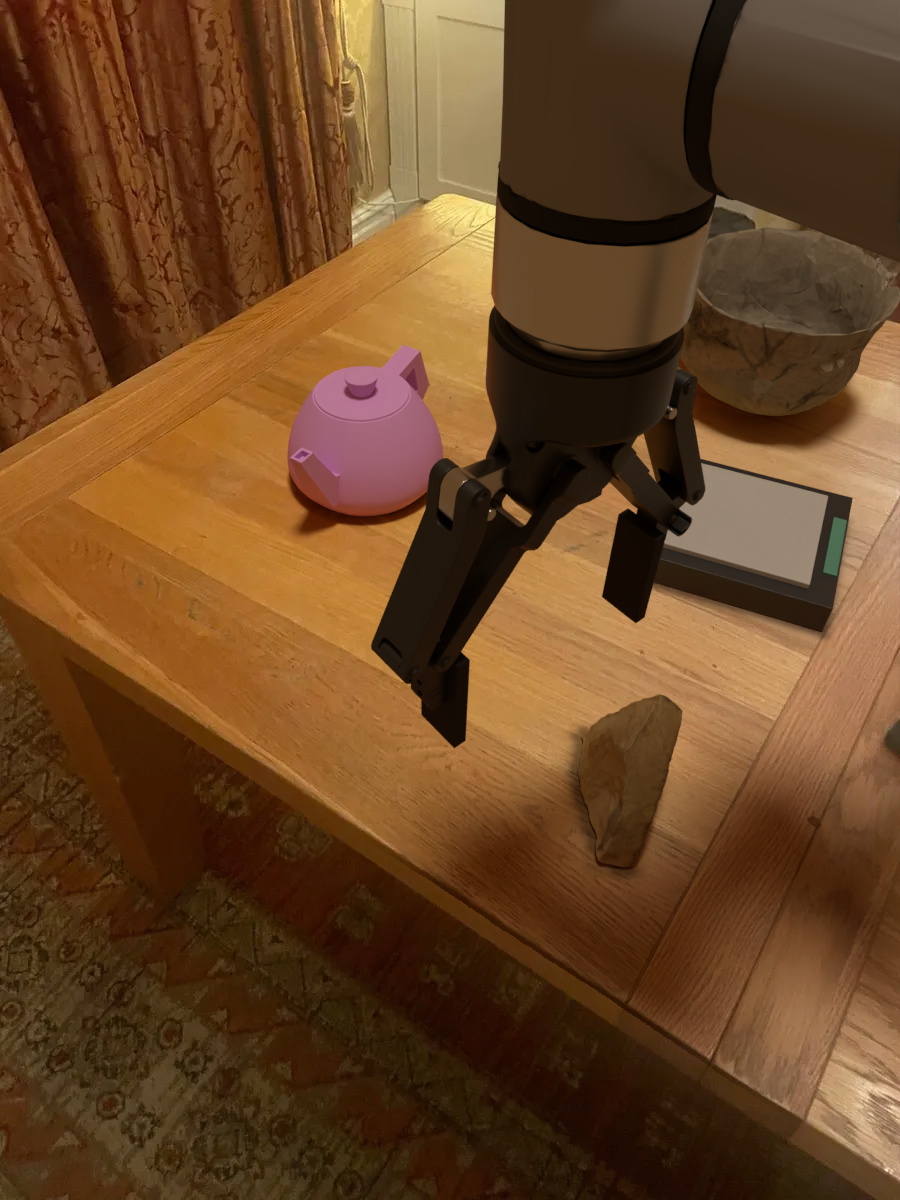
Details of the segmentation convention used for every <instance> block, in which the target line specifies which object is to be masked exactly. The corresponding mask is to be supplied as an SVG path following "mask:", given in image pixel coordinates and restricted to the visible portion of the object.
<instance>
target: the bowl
mask: <svg viewBox="0 0 900 1200" xmlns="http://www.w3.org/2000/svg"><path fill="white" fill-rule="evenodd" d="M886 280H887V270H886V269H884V268H883V267H879V262H878V261H876V260H875V258H873V257H872V256H870V255H869V254H868V253H865V251H864V250H862V249H861V248H859V247H857V246H855V245H853V244H850V243H847V242H845V241H842V240H840V239H837V238H834V237H832V236H829V235H826V234H824V233H821V232H819V231H814V230H813V231H812V230H798V229H787V228H780V227H779V228H778V227H769V226H767V227H761V228H750V229H743V230H737V231H733V232H726V233H720V234H718V235H715V236H714V237H711V238H708V240H707V244H706V249H705V254H704V258H703V263H702V268H701V272H700V277H699V282H698V286H697V291H696V296H695V300H694V305H693V310H692V312H691V314H690V317H689V319H688V322H687V323H686V324H685V325H684V326H683V328H684V342H683V346H682V351H681V355H680V359H681V360H682V362H683V364H684V366H685V368H686V371H687V372H689V373H691V374H692V375H694V376H696V377H697V379H698V383H697V385H699V386H700V387H701V388H702V389H703V390H704V391H705V392H707V394H709V395H710V396H711V397H713V398H715V399H716V400H718V401H720V402H723V403H724V404H726V405H729V406H731V407H734V408H736V409H738V410H741V411H744V412H746V413H749V414H755V415H761V416H768V417H769V416H770V417H780V416H781V417H782V416H791V415H792V416H793V415H796V414H800V413H803V412H807V411H810V410H812V409H814V408H817V407H819V406H821V405H823V404H825V403H826V402H828V401H830V400H831V399H833V398H834V397H836V396H837V395H838V394H840V392H842V391H843V390H844V389H845V388H846V387H847V386H848V384H849V382H850V381H851V380H852V378H853V377H854V375H855V374H856V373H857V371H858V369H859V366H860V362H861V359H862V354H863V352H864V350H865V349H866V347H867V346H868V344H869V343H870V342H871V340H872V339H873V337H874V335H875V334H876V333H878V332H879V330H880V329H881V328H882V327H883V326H884V324H885V323H886V322H887V321H888V319H889V318H890V317H891V316H892V314H893V313H894V312H895V311H896V309H897V307H898V305H899V303H900V287H899V286H897V285H896V286H891V287H888V286H886Z"/></svg>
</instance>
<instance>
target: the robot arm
mask: <svg viewBox="0 0 900 1200" xmlns="http://www.w3.org/2000/svg"><path fill="white" fill-rule="evenodd" d="M503 23H504V24H503V69H502V105H501V106H502V107H501V129H500V132H501V133H500V155H499V161H498V165H497V169H498V173H497V183H496V185H497V186H496V194H495V195H496V196H495V197H496V198H495V214H494V215H495V216H494V232H493V233H494V235H493V251H492V252H493V253H492V268H491V269H492V271H491V284H490V286H491V287H490V288H491V289H490V295H491V298H492V301H493V304H494V305H493V307H492V308H491V310H490V313H489V315H488V316H489V317H488V328H487V329H488V330H487V349H486V365H485V367H486V369H485V390H486V395H487V398H488V402H489V404H490V407H491V411H492V414H493V417H494V418H493V419H494V422H495V432H494V435H493V438H492V440H491V442H490V445H489V447H488V449H487V451H486V454H485V458H483V459H481V460H479V461H476V462H473V463H471V464H469V465H465V466H462V467H461V466H459V464H457V463H456V462H454V461H453V460H452V459H450V458H449V457H443V459H441V460H439V461H437V462H436V463H435V464H434V465H433V467H432V469H431V470H430V474H429V481H428V490H427V492H426V498H425V499H426V500H425V509H424V512H423V514H422V517H421V519H420V521H419V524H418V527H417V529H416V532H415V534H414V536H413V539H412V542H411V544H410V547H409V548H408V551H407V554H406V556H405V559H404V561H403V564H402V566H401V569H400V571H399V573H398V576H397V579H396V582H395V584H394V586H393V589H392V591H391V594H390V596H389V598H388V600H387V603H386V606H385V608H384V611H383V613H382V616H381V618H380V621H379V624H378V626H377V628H376V631H375V633H374V635H373V639H372V641H371V644H370V648H371V650H372V652H374V654H376V656H377V657H378V658H380V660H381V661H382V662H383V663H384V664H386V666H387V667H388V668H389V669H390V670H391V671H392V672H393V673H394V674H395V675H396V676H397V677H398V678H399V679H400V680H401V681H402V682H403V683H405V684H406V685H410V689H411V691H412V692H413V693H414V695H416V696H417V697H418V698H419V699H420V710H421V713H420V714H421V716H422V717H423V718H424V719H425V720H426V721H427V723H429V725H431V726H432V728H434V730H435V731H437V732H438V733H439V735H441V737H442V738H443V739H445V741H447V743H448V744H450V746H451V747H452V748H453V749H456V748H457V747H459V746H460V745H462V744H463V743H464V742H466V740H467V723H468V722H467V720H468V703H469V685H470V684H469V682H470V666H471V665H470V664H471V659H470V658H468V656H466V655H465V654H464V653H463V652H462V651H463V650H464V648H465V646H466V645H467V643H468V642H469V641H470V639H471V637H472V635H473V634H474V633H475V631H476V630H477V628H478V626H479V624H480V623H481V621H482V620H483V618H484V617H485V615H486V614H487V612H488V610H489V609H490V607H491V606H492V605H493V603H494V601H495V599H496V598H497V596H498V595H499V593H500V592H501V591H502V589H503V587H504V586H505V584H506V583H507V581H508V579H509V578H510V576H511V574H512V573H513V572H514V570H515V569H516V567H517V565H518V563H520V560H521V559H522V557H523V556H524V554H526V552H528V551H536V550H539V548H541V546H542V545H543V543H544V542H545V540H546V539H547V537H548V536H549V534H550V533H551V531H552V529H553V528H554V527H555V525H556V523H557V522H558V521H560V520H561V519H563V518H564V517H566V516H567V515H568V514H570V513H571V512H572V511H573V510H574V509H576V508H577V507H578V506H580V505H584V504H586V503H590V502H592V501H594V500H596V499H597V498H599V497H601V496H602V494H603V490H604V489H605V488H606V486H607V485H609V484H611V485H612V487H614V488H615V489H616V490H617V491H618V492H619V494H621V496H622V497H623V498H625V499H626V501H628V503H629V504H630V505H632V507H634V508H636V509H637V510H636V512H634V511H633V510H631V509H630V508H626V509H625V510H623V511H621V512H620V513H618V515H617V519H616V524H615V528H614V529H615V530H614V536H613V540H612V545H611V550H610V554H609V560H608V564H607V568H606V569H607V570H606V575H605V579H604V584H603V589H602V593H601V598H602V599H603V600H605V601H606V602H608V603H609V604H610V605H611V606H613V608H615V609H616V610H618V611H619V612H620V613H621V614H623V615H624V616H625V617H627V618H628V619H629V620H631V622H633V623H634V624H637V623H639V622H640V621H642V620H643V619H644V618H645V617H646V613H647V610H648V606H649V602H650V599H651V594H652V590H653V586H654V583H655V582H654V579H655V575H656V572H657V568H658V564H659V560H660V557H661V555H662V551H663V546H664V543H665V542H664V541H665V539H666V536H667V532H668V530H669V531H671V532H672V533H673V534H675V535H676V536H682V535H683V534H684V533H685V532H686V531H687V530H688V528H689V527H690V525H691V523H692V517H690V516H689V515H687V514H686V513H684V512H683V511H681V510H680V509H679V508H680V507H681V506H682V505H683V504H684V503H686V502H687V503H688V504H690V505H695V504H697V503H698V502H699V501H700V500H701V499H702V498H703V496H704V493H705V482H704V476H703V470H702V465H701V459H702V458H701V453H700V447H699V442H698V436H697V435H698V434H697V430H696V424H695V418H694V411H693V410H694V406H695V400H696V394H697V388H698V379H697V377H696V376H694V375H692V374H691V373H689V372H688V370H686V369H683V368H682V367H680V366H679V363H680V359H681V351H682V346H683V342H684V328H683V326H684V325H685V324H686V323H687V322H688V319H689V317H690V314H691V312H692V310H693V305H694V300H695V296H696V291H697V286H698V282H699V277H700V272H701V268H702V263H703V258H704V254H705V249H706V244H707V240H708V239H709V234H710V230H711V225H712V221H713V214H714V211H715V206H716V201H717V197H718V196H719V197H720V198H724V199H725V200H729V201H737V202H739V203H742V204H745V205H748V206H750V207H753V208H756V209H758V210H761V211H764V212H765V213H768V214H771V215H774V216H776V217H778V218H779V217H780V218H782V219H785V220H787V221H789V222H793V223H794V224H795V223H796V224H797V225H800V226H803V227H806V228H808V229H811V230H813V231H815V232H818V233H822V234H826V235H828V236H831V237H834V238H836V239H839V240H842V241H844V242H847V243H849V244H851V245H853V246H854V247H857V248H860V249H863V250H866V251H869V252H871V253H874V254H875V255H876V254H877V255H879V256H881V257H885V258H887V259H889V260H892V261H895V262H897V263H900V0H504V22H503ZM642 435H643V437H644V440H645V441H644V442H645V444H646V449H647V452H648V456H649V461H650V464H651V468H652V472H653V475H654V477H653V476H652V475H651V474H650V471H651V470H650V469H649V468H648V466H647V465H646V464H645V463H644V462H643V461H642V459H641V458H640V457H639V456H638V455H637V451H636V450H635V449H634V447H633V445H634V443H635V442H636V440H637V438H638V437H640V436H642ZM506 496H508V498H510V499H511V500H512V501H513V503H514V504H516V506H518V507H519V508H521V509H522V510H523V511H525V512H526V513H527V514H529V516H530V517H529V519H528V520H527V521H526V523H525V524H524V523H522V522H521V521H520V520H519V519H517V518H516V517H515V516H514V515H513V514H511V513H510V512H509V511H507V510H506V509H505V508H504V506H503V502H504V499H505V498H506Z"/></svg>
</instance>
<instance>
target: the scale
mask: <svg viewBox="0 0 900 1200" xmlns="http://www.w3.org/2000/svg"><path fill="white" fill-rule="evenodd" d="M700 459H701V465H702V470H703V476H704V482H705V493H704V496H703V498H702V499H701V500H700V501H699V502H698V503H697V504H695V505H690V504H688V503H687V502H686V503H684V504H683V505H682V506H681V507H680V508H679V509H680V510H681V511H683V512H684V513H686V514H687V515H689V516H690V517H692V523H691V525H690V527H689V528H688V530H687V531H686V532H685V533H684V534H683V535H682V536H676V535H675V534H673V533H672V532H671V531H669V530H668V532H667V536H666V539H665V541H664V542H665V543H664V546H663V551H662V555H661V557H660V560H659V564H658V568H657V572H656V575H655V579H654V583H655V584H659V585H663V586H666V587H670V588H672V589H676V590H680V591H683V592H685V593H686V592H687V593H690V594H694V595H696V596H700V597H702V598H703V597H704V598H707V599H710V600H714V601H717V602H719V603H724V604H728V605H731V606H734V607H738V608H741V609H744V610H747V611H751V612H753V613H757V614H761V615H764V616H768V617H771V618H775V619H778V620H781V621H785V622H788V623H791V624H795V625H797V626H801V627H804V628H808V629H812V630H815V631H818V632H823V630H824V628H825V626H826V625H827V622H828V620H829V618H830V617H831V614H832V612H833V609H834V604H835V600H836V593H837V588H838V583H839V578H840V571H841V566H842V560H843V555H844V548H845V544H846V538H847V532H848V526H849V521H850V515H851V509H852V504H853V497H851V496H847V495H843V494H839V493H836V492H831V491H827V490H824V489H819V488H816V487H812V486H809V485H805V484H801V483H797V482H793V481H789V480H785V479H782V478H777V477H773V476H769V475H766V474H762V473H757V472H754V471H749V470H746V469H742V468H739V467H738V468H737V467H735V466H731V465H726V464H723V463H719V462H716V461H715V462H714V461H711V460H707V459H703V458H700Z"/></svg>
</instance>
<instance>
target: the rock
mask: <svg viewBox="0 0 900 1200" xmlns="http://www.w3.org/2000/svg"><path fill="white" fill-rule="evenodd" d="M682 719H683V710H682V709H681V708H680V706H679V705H678V704H677V703H675V702H674V701H673V700H672V699H670V698H669V697H668V696H666V695H662V694H659V693H658V694H656V695H654V696H650V697H643V698H642V699H639V700H635V701H633V702H630V703H629V704H628V705H626V706H623V707H621V708H620V709H618V710H617V711H615V712H610V713H607V714H606V715H604V716H602V717H599V719H598V720H597V721H596V722H594V723H592V724H591V726H589V730H586V731H585V732H584V733H583V734H582V735H581V737H580V739H581V740H582V748H581V756H580V758H579V759H580V760H579V765H578V766H579V768H578V769H577V775H578V778H579V784H580V793H581V794H582V797H583V801H584V805H586V807H587V811H588V813H589V814H588V815H589V816H588V818H589V821H590V824H591V827H592V828H593V830H594V832H595V835H596V841H595V850H594V851H595V855H596V857H597V861H598V862H599V863H600V864H601V863H602V864H607V865H611V866H614V867H615V866H616V867H619V868H629V867H630V866H631V865H632V863H634V862H635V861H636V860H637V859H636V858H637V855H638V854H639V853H640V852H641V851H642V849H643V848H644V845H645V841H646V838H647V836H648V833H649V830H650V827H651V825H652V824H653V822H654V819H655V816H656V814H657V809H658V805H659V802H660V800H661V798H662V796H663V792H664V789H665V787H666V782H667V779H668V776H669V771H670V763H671V761H672V759H673V754H674V751H675V747H676V744H677V741H678V737H679V732H680V730H681V726H682V721H683V720H682Z"/></svg>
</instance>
